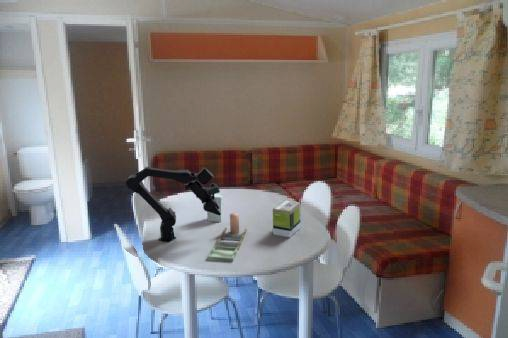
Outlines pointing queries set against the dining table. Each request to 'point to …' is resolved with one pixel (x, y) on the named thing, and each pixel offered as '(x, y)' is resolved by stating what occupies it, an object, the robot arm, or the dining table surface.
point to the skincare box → (219, 201)
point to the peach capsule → (234, 223)
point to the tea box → (286, 218)
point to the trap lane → (226, 247)
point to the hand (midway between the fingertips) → (219, 211)
